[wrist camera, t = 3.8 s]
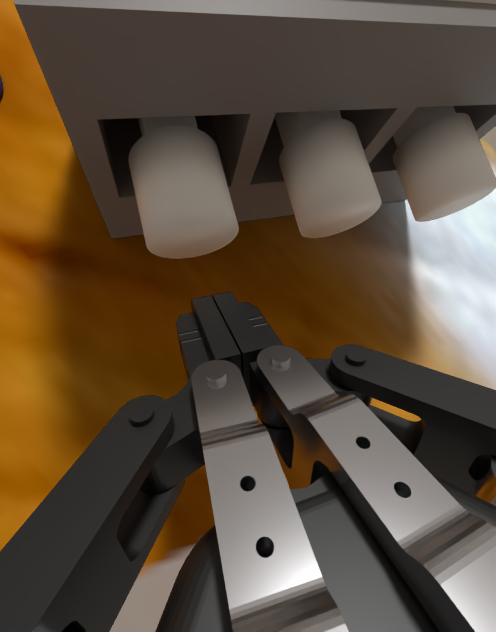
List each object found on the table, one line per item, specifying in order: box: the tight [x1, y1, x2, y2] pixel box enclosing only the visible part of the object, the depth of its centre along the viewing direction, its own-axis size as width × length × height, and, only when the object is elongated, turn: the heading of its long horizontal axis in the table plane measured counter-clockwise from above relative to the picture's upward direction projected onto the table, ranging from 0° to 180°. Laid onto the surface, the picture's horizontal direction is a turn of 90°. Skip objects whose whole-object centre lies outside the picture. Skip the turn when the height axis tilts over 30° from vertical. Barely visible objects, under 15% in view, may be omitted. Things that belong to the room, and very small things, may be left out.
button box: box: [14, 0, 496, 239], centre depth 16 cm, size 20×9×12 cm, turn 105°
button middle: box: [275, 110, 382, 238], centre depth 15 cm, size 4×6×4 cm, turn 14°
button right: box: [393, 106, 496, 222], centre depth 16 cm, size 4×6×4 cm, turn 15°
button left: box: [128, 116, 239, 259], centre depth 13 cm, size 4×6×4 cm, turn 15°
